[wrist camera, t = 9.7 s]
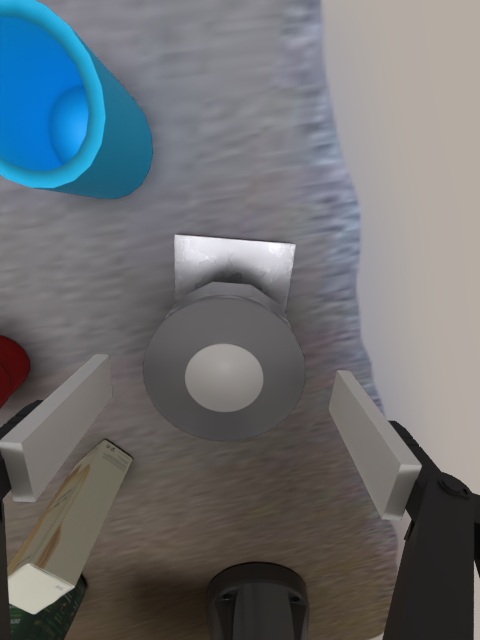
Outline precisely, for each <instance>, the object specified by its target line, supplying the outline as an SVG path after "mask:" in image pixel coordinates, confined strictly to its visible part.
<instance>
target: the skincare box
mask: <svg viewBox="0 0 480 640" xmlns="http://www.w3.org/2000/svg"><path fill="white" fill-rule="evenodd" d="M131 462H132V458H131V457H129V456H128V455H127V454H125V453H124V452H123V451H121V450H120V449H118V448H117V447H116V446H114V445H112V444H111V443H110V442H108V441H106V440H103V441H102V442H101V443H100V444H98V445H97V446H96V447H95V448H93V449H92V450H91V451H90V452H89V453H88V454H87V455H85V456H84V457H83V458H82V459H81V460H80V461H79V462H78V463H77V464H76V465H75V466H74V468H73V469H72V471H71V472H70V474H69V475H68V477H67V478H66V480H65V481H64V483H63V484H62V486H61V487H60V489H59V491H58V492H57V494H56V495H55V497H54V498H53V500H52V501H51V503H50V504H49V505H48V507H47V509H46V510H45V512H44V513H43V515H42V516H41V518H40V519H39V521H38V522H37V523H36V525H35V526H34V528H33V529H32V531H31V532H30V534H29V535H28V537H27V538H26V540H25V541H24V543H23V544H22V546H21V547H20V549H19V550H18V552H17V553H16V555H15V556H14V558H13V559H12V561H11V562H10V564H9V565H8V567H7V573H8V591H9V603H10V604H12V605H14V606H16V607H18V608H20V609H23V610H25V611H27V612H29V613H31V614H36V613H38V612H39V611H41V610H42V609H44V608H45V607H47V606H48V605H50V604H52V603H54V602H55V601H56V600H57V599H59V598H60V597H61V596H63V595H64V594H66V593H67V592H68V591H70V590H71V589H73V588H74V587H75V586H76V583H77V581H78V579H79V577H80V575H81V572H82V570H83V568H84V566H85V564H86V561H87V559H88V557H89V555H90V553H91V550H92V548H93V546H94V544H95V541H96V539H97V537H98V535H99V533H100V530H101V528H102V526H103V524H104V522H105V519H106V517H107V515H108V513H109V510H110V508H111V506H112V504H113V502H114V499H115V497H116V495H117V493H118V491H119V488H120V486H121V484H122V482H123V480H124V477H125V475H126V473H127V471H128V469H129V466H130V464H131Z"/></svg>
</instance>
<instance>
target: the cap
mask: <svg viewBox="0 0 480 640" xmlns="http://www.w3.org/2000/svg"><path fill="white" fill-rule="evenodd" d="M305 375H306V373H305V362H304V354H303V352H302V350H301V348H300V345H299V343H298V341H297V339H296V337H295V334H294V332H293V330H292V328H291V325H290V323H289V321H288V319H287V316H286V314H285V312H284V310H283V308H282V306H281V305H280V304H278V303H277V302H275V301H274V300H273V299H271V298H270V297H268V296H267V295H265V294H264V293H262V292H261V291H259V290H258V289H256V288H255V287H253V286H252V285H249V284H236V283H223V282H211V283H209V284H207V285H205V286H203V287H201V288H199V289H197V290H195V291H192V292H190V293H188V294H186V295H184V296H182V297H180V298H179V299H178V300H177V302H176V303H175V304H174V305H173V307H172V308H171V309H170V311H169V312H168V314H167V315H166V317H165V319H164V320H163V322H162V323H161V325H160V327H159V328H158V329H157V331H156V332H155V334H154V335H153V336H152V338H151V340H150V342H149V344H148V346H147V349H146V352H145V356H144V362H143V376H144V383H145V387H146V390H147V393H148V395H149V397H150V399H151V401H152V403H153V404H154V406H155V407H156V409H157V410H158V411H159V412H160V414H161V415H162V416H163V417H164V418H166V419H167V420H168V421H169V422H170V423H171V424H173V425H174V426H175V427H177V428H179V429H181V430H182V431H184V432H186V433H188V434H191V435H193V436H196V437H199V438H203V439H207V440H213V441H239V440H244V439H249V438H252V437H255V436H258V435H261V434H263V433H265V432H267V431H269V430H271V429H272V428H274V427H275V426H277V425H278V424H279V423H281V422H282V421H283V420H284V419H285V418H286V417H287V416H288V415H289V414H290V413H291V411H292V410H293V409H294V407H295V406H296V404H297V402H298V401H299V399H300V396H301V394H302V391H303V387H304V384H305Z"/></svg>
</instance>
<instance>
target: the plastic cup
mask: <svg viewBox="0 0 480 640" xmlns="http://www.w3.org/2000/svg"><path fill="white" fill-rule="evenodd" d="M29 370H30V364H29V359H28V357H27V355H26V353H25V351H24V350H23V349H22V348H21V347H20V346H19V345H18V344H17V343H16V342H14V341H12V340H10V339H8V338H6V337H4V336H0V408H1V407H2V406H3V405H4V404H5V402H6V401H7V400H8V398H9V396H10V395H11V394H12V393H13V392H14V391H15V390H16V389H17V388H18V387H19V386H20V385H21V384H22V383H23V382H24V379H25V378H26V377H27V375H28V372H29Z"/></svg>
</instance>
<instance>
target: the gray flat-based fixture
mask: <svg viewBox="0 0 480 640" xmlns="http://www.w3.org/2000/svg"><path fill="white" fill-rule="evenodd" d="M295 245H296V244H293V243H286V242H273V241H261V240H249V239H236V238H224V237H211V236H199V235H186V234H176V235H175V303H176V302H177V300H178V299H179V298H180V297H182V296H184V295H186V294H188V293H190V292H192V291H195V290H197V289H199V288H201V287H203V286H205V285H207V284H209V283H211V282H223V283H236V284H249V285H252V286H253V287H255V288H256V289H258V290H259V291H261V292H262V293H264V294H265V295H267V296H268V297H270V298H271V299H273V300H274V301H275V302H277V303H278V304H280V305H281V306H282V308H283V310H284V312H285V314H286V308H287V301H288V294H289V287H290V280H291V273H292V266H293V259H294V252H295Z"/></svg>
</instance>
